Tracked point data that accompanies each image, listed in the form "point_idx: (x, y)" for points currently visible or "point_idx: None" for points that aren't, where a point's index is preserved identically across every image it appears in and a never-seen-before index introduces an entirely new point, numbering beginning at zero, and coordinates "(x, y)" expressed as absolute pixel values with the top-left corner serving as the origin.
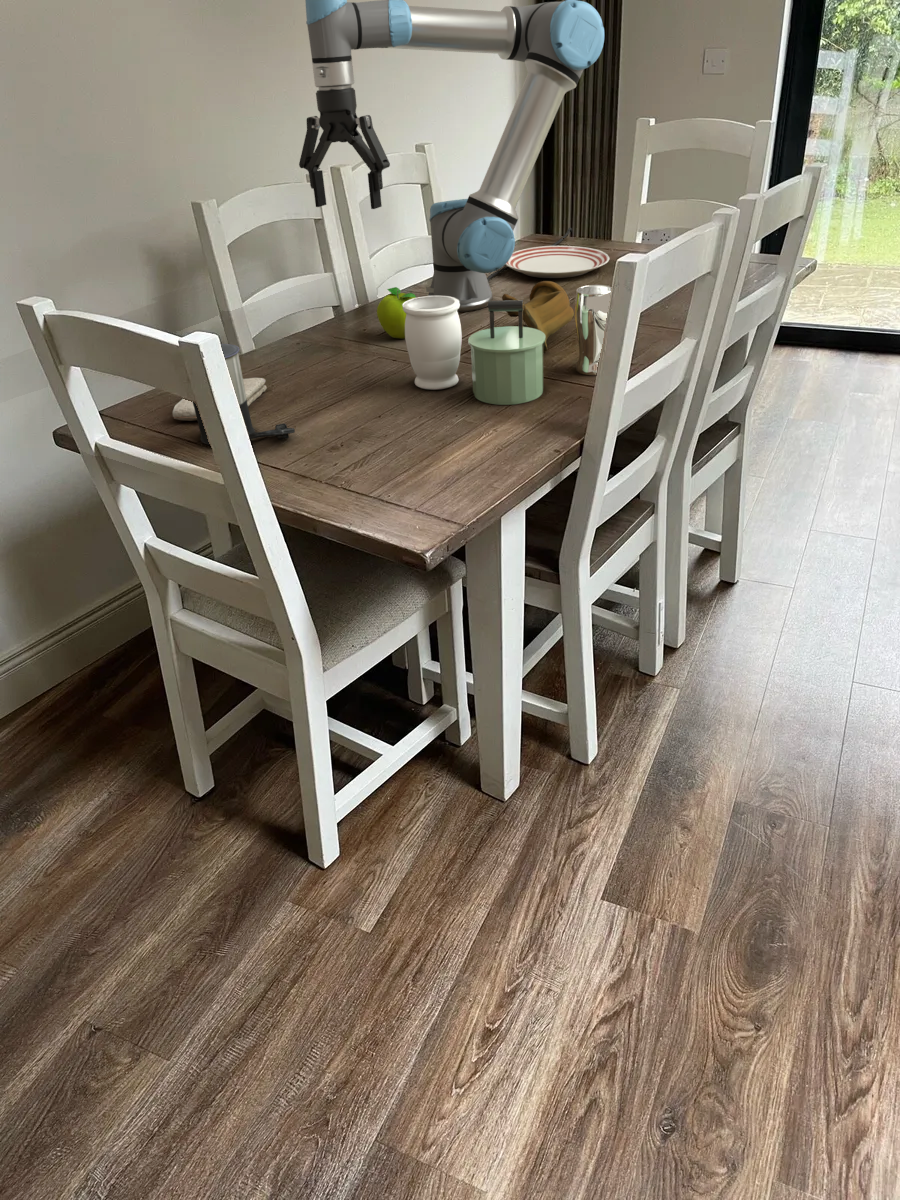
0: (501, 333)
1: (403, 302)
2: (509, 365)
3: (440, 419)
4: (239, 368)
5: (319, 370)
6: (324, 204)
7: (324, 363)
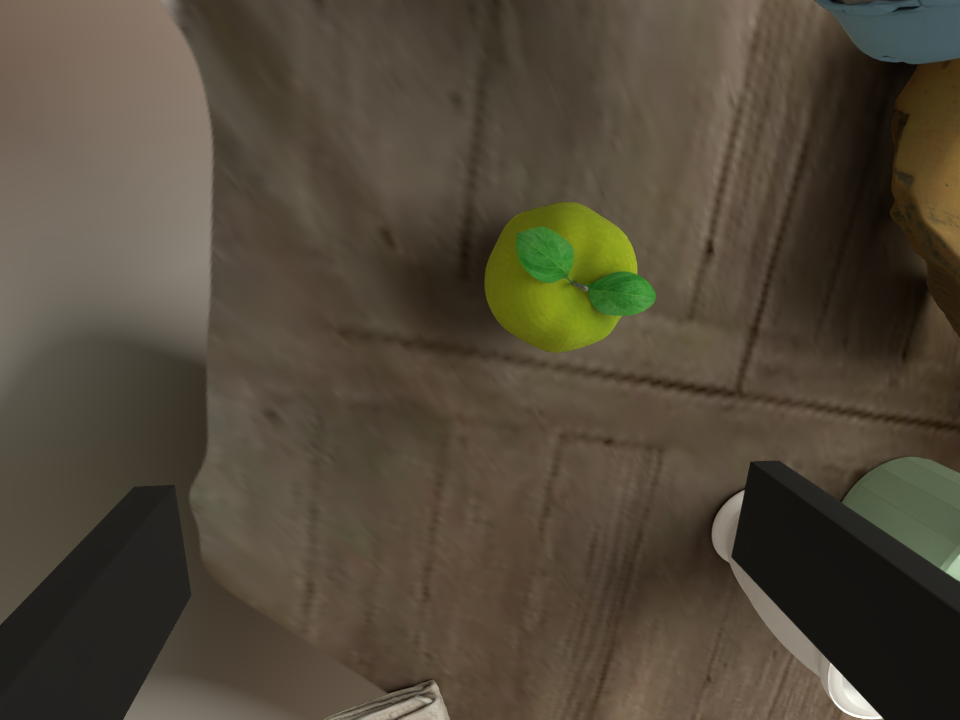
0: None
1: (610, 316)
2: None
3: None
4: None
5: (469, 553)
6: (176, 518)
7: (451, 514)
